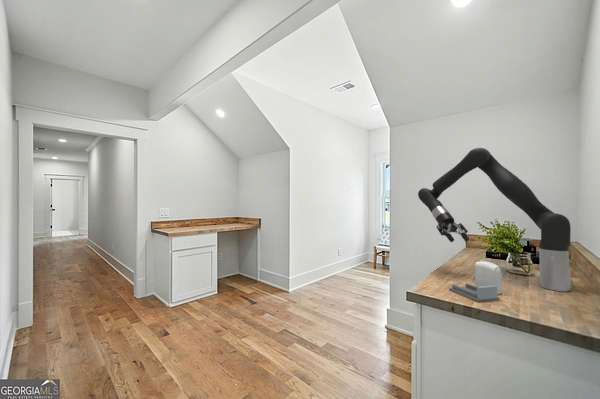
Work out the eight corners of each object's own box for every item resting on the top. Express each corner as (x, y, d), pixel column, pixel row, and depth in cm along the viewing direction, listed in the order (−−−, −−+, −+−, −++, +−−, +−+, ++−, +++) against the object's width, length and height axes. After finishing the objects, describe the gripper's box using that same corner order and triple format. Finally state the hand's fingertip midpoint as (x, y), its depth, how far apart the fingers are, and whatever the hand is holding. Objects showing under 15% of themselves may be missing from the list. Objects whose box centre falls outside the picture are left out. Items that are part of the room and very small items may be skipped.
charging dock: (468, 288, 112) (468, 276, 112) (499, 300, 98) (498, 286, 98) (449, 290, 110) (449, 277, 110) (477, 302, 96) (477, 288, 96)
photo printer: (473, 287, 114) (472, 259, 114) (481, 286, 115) (480, 259, 115) (495, 295, 104) (495, 265, 104) (504, 294, 105) (503, 264, 105)
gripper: (434, 211, 131) (452, 236, 120) (457, 211, 134) (477, 235, 122) (427, 221, 136) (443, 245, 125) (450, 220, 139) (467, 245, 128)
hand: (460, 240), depth 124 cm, fingers open, 8 cm apart
